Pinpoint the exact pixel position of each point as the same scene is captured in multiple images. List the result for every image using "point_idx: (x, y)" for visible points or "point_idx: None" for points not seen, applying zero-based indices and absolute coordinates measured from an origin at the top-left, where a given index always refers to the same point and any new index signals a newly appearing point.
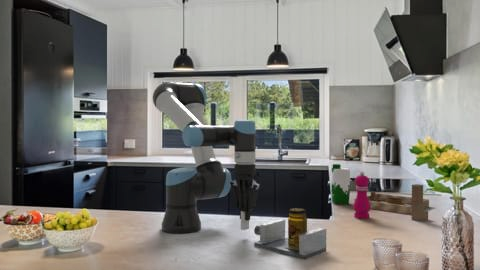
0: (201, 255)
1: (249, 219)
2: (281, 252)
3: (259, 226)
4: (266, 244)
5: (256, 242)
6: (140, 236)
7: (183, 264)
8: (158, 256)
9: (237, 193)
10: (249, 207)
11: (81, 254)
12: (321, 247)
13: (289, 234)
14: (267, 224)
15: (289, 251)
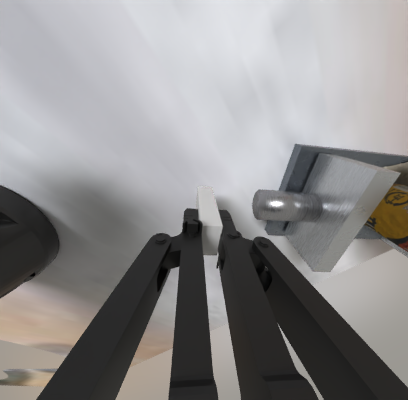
0: (212, 302)
1: (227, 214)
2: None
3: (276, 216)
4: None
5: (272, 231)
6: (31, 305)
7: (218, 325)
8: (167, 328)
9: (124, 356)
10: (259, 276)
11: None
12: None
13: (390, 240)
14: (336, 261)
15: (359, 237)
